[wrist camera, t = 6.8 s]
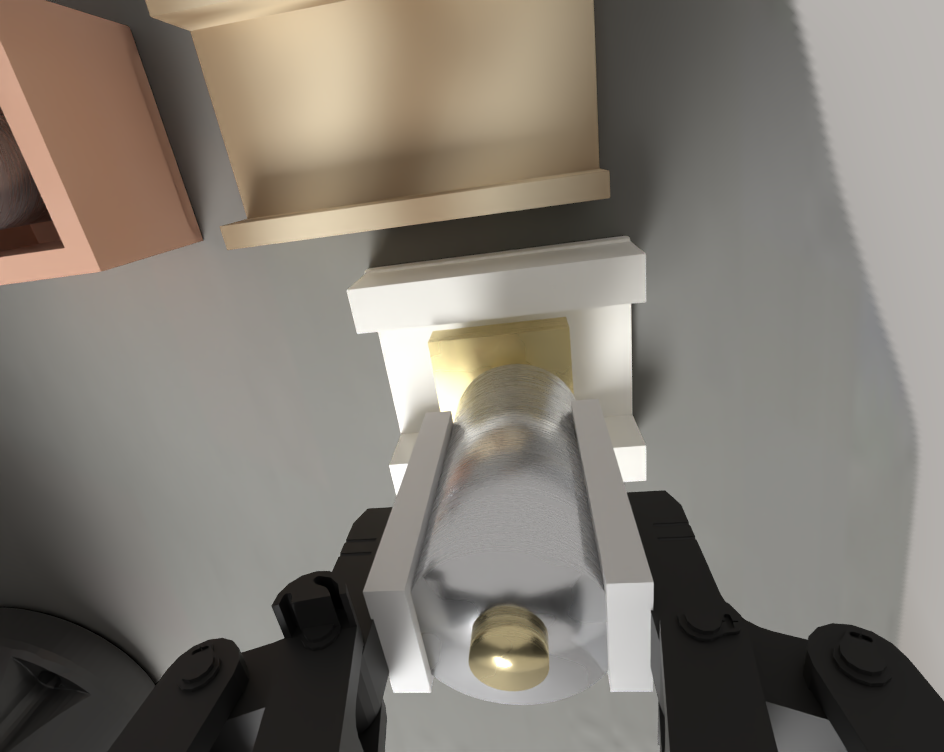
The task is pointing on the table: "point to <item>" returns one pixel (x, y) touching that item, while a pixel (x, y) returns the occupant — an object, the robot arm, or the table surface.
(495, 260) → the cradle
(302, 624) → the robot arm
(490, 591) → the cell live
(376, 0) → the trough
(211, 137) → the table surface
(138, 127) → the square hollow tube
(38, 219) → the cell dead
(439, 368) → the tan flat square block
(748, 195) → the table surface
